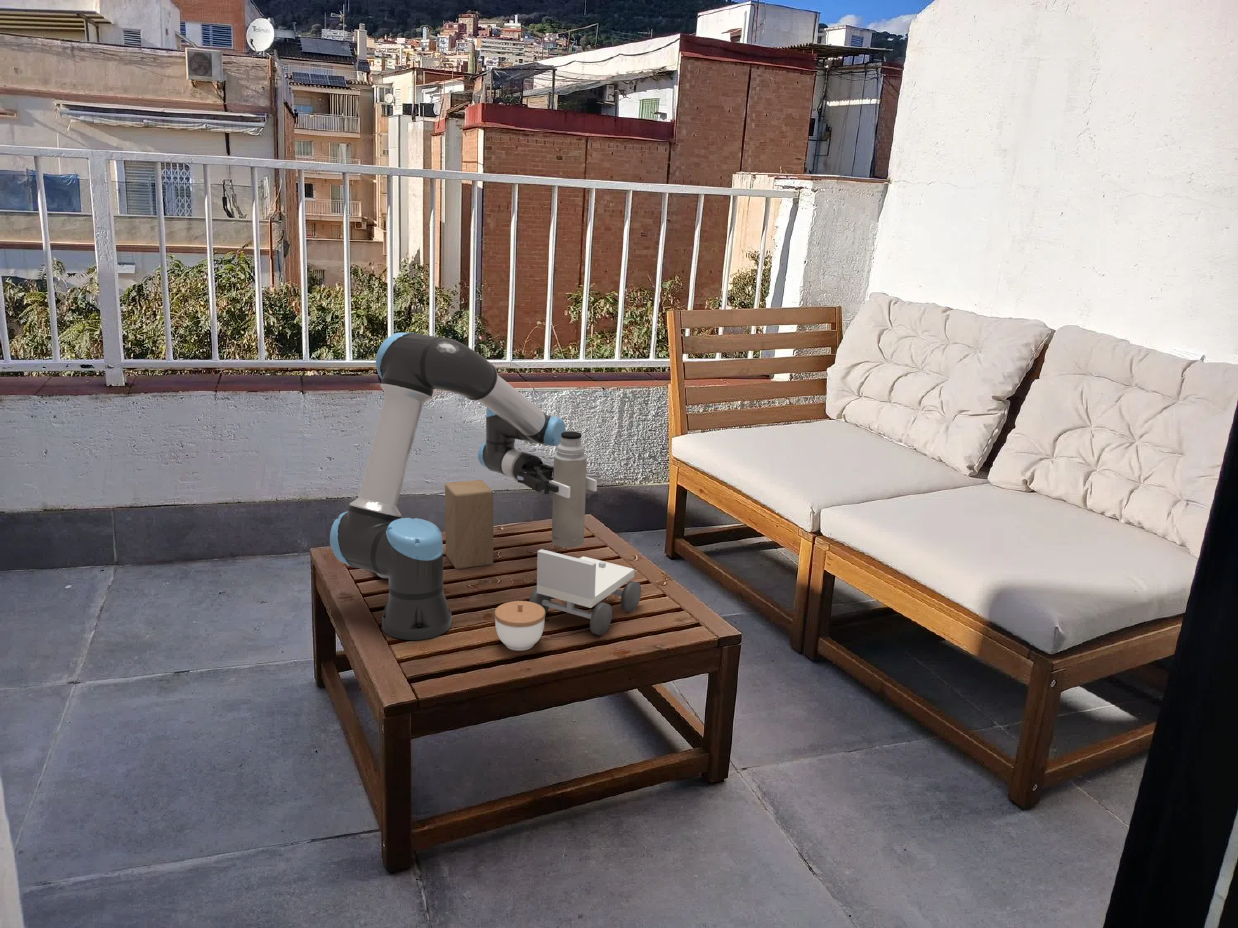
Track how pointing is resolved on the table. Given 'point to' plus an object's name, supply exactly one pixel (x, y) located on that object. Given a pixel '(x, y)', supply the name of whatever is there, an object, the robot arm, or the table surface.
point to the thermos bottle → (573, 474)
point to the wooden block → (469, 523)
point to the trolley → (583, 586)
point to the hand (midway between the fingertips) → (582, 489)
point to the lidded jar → (519, 624)
